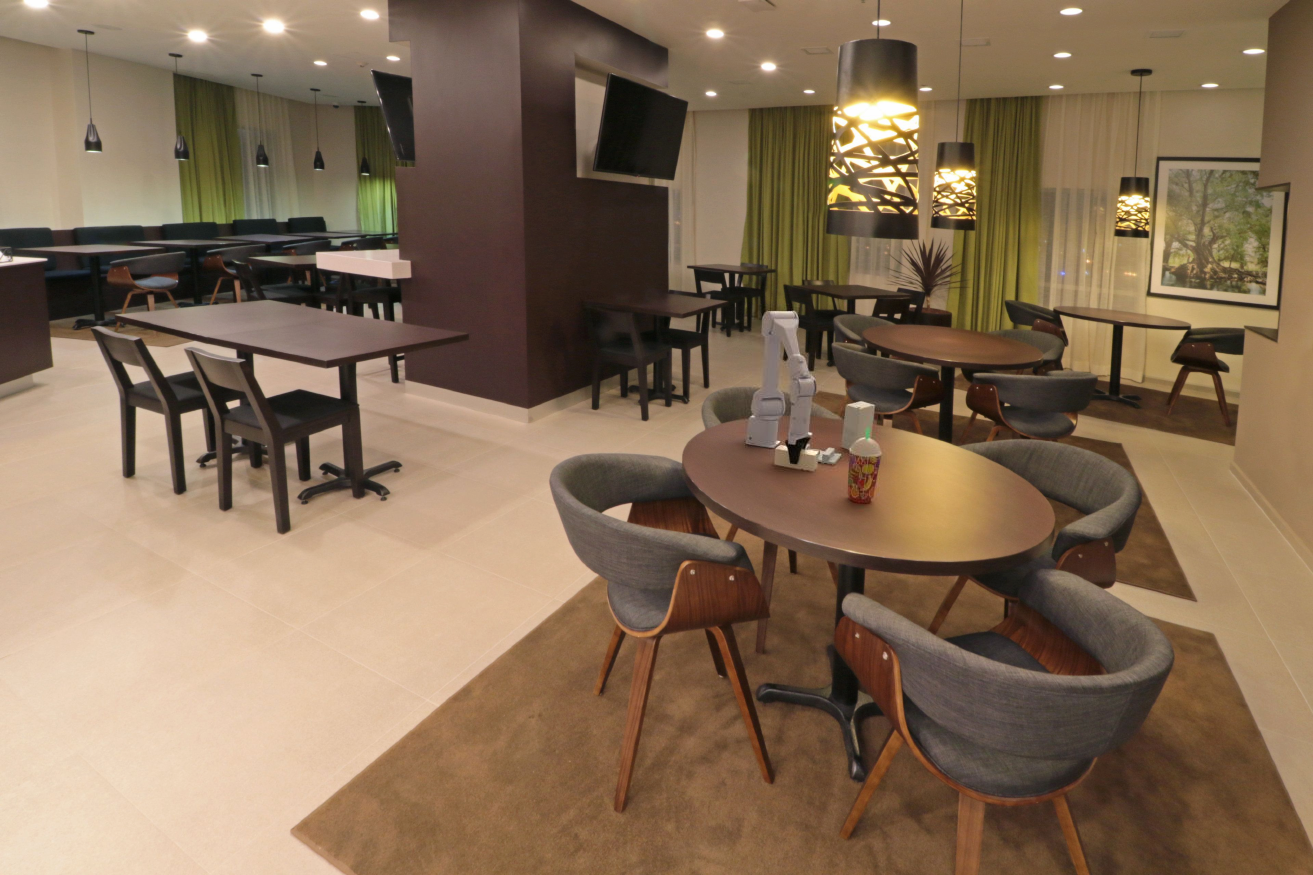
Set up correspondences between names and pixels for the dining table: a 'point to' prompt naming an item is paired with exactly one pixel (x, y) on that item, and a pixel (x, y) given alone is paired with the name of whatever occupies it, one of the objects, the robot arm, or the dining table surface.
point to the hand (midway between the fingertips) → (795, 461)
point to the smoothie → (863, 469)
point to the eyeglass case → (806, 459)
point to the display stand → (826, 455)
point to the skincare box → (857, 422)
